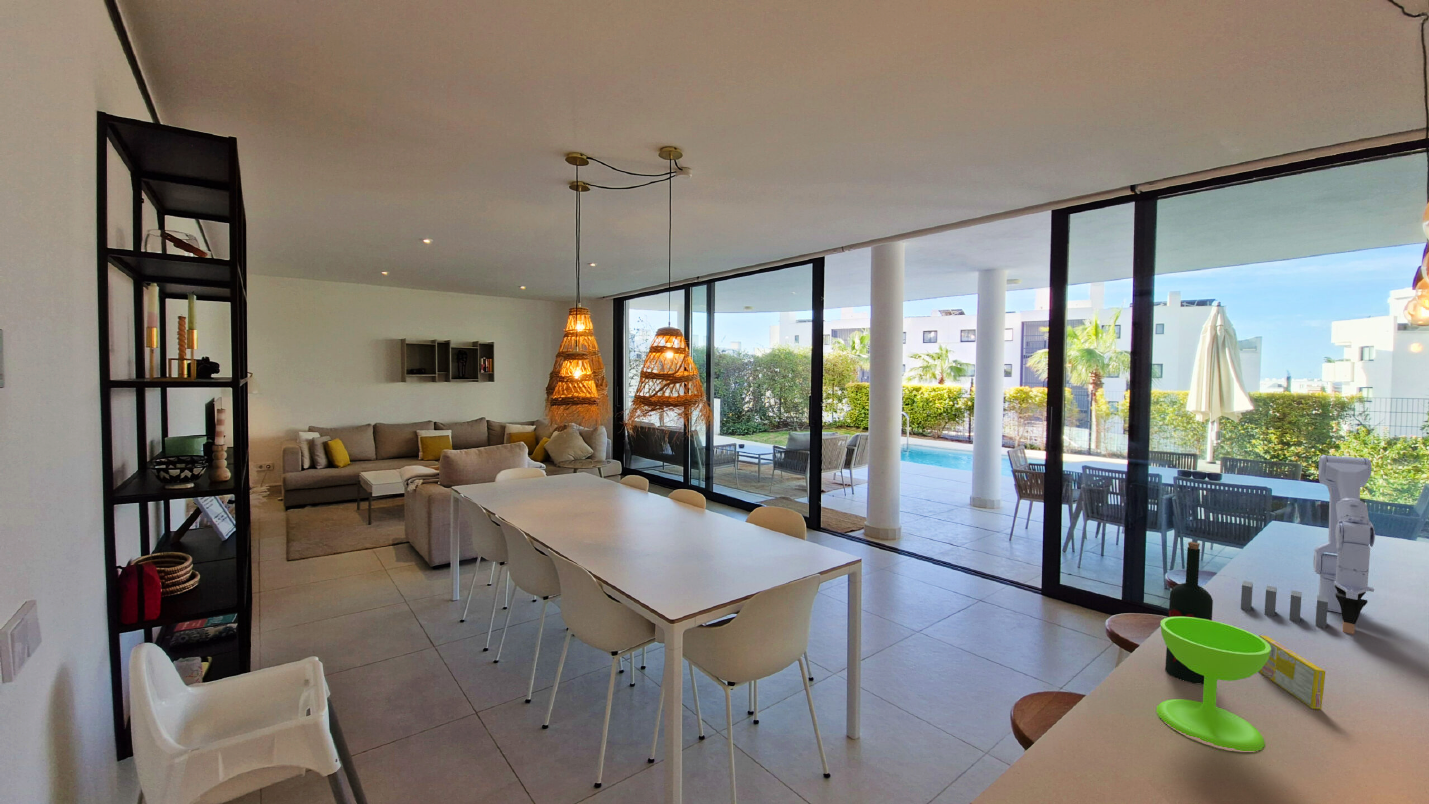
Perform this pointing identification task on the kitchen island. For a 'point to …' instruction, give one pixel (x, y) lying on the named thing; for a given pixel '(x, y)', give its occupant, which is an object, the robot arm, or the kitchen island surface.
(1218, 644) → the wineglass
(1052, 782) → the kitchen island surface
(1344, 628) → the tile head
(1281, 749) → the kitchen island surface
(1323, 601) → the tile
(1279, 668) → the candy box
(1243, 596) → the tile
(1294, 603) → the tile
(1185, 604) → the wine bottle
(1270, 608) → the tile
